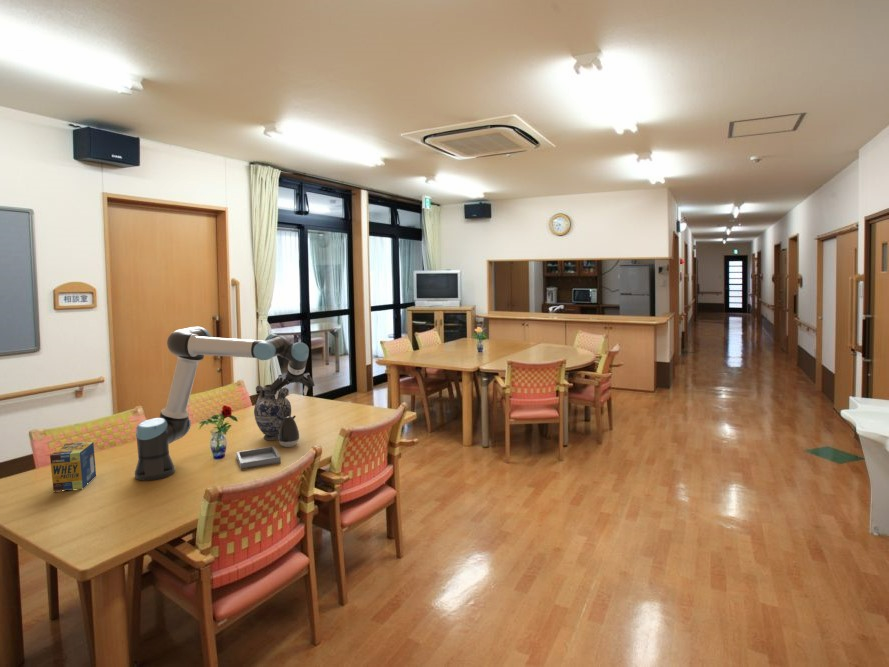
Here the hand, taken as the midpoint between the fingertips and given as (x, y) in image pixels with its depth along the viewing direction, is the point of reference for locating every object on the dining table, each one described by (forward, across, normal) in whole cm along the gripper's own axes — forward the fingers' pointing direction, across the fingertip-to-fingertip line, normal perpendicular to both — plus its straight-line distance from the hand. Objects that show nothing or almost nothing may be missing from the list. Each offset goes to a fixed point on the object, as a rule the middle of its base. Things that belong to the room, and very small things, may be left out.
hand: (290, 395), depth 252 cm
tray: (+16, -17, -23) cm, 33 cm away
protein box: (+23, -88, -16) cm, 92 cm away
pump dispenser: (+27, 0, -13) cm, 30 cm away
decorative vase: (+39, -4, 0) cm, 40 cm away
